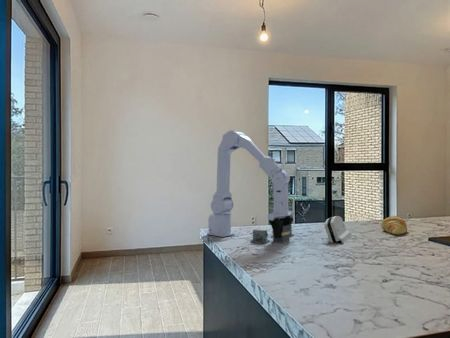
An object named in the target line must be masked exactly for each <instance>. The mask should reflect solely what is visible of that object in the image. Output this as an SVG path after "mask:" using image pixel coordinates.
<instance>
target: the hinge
mask: <svg viewBox="0 0 450 338" xmlns="http://www.w3.org/2000/svg"><path fill="white" fill-rule="evenodd" d="M324 229H325V233H326V234H327V238H328V241H329V243H334V242H339V241H340V242H341V244H343V245H344V244H345V243H346V242H347V241H348V240H349V239H350V238H351V237H352V234H351V231H350V230H347V228H346V226H345V223H344V221H343V218H342V217H341V216H339V215H335V216H331V217H329V218H327V219H326V220H325V222H324Z"/></svg>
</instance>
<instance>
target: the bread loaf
mask: <svg viewBox="0 0 450 338" xmlns="http://www.w3.org/2000/svg"><path fill="white" fill-rule="evenodd" d="M380 226H381V227H380V228H381V229H382V230H383V231H384V232H386V233H388V234H393V235H402V234H406V233H407V232H408V225H407V222H406V220H404V219H403V218H401V217H399V216H398V215H391V216H388V217H386V218H384V219H383V220H382V221H381V222H380Z"/></svg>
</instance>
